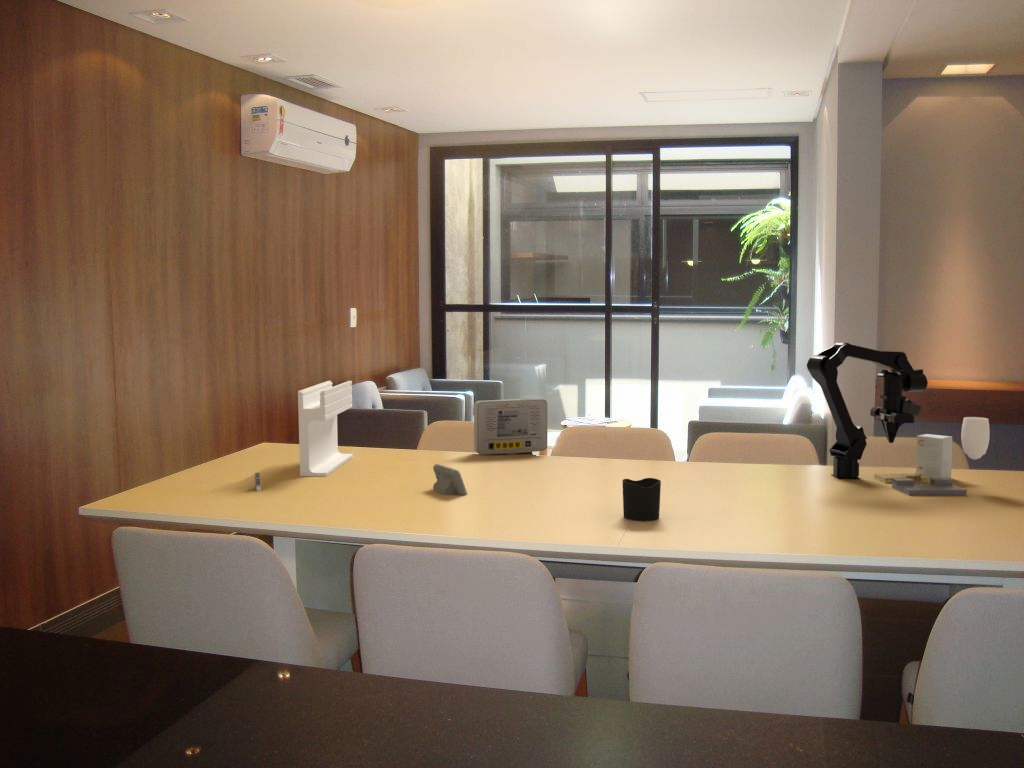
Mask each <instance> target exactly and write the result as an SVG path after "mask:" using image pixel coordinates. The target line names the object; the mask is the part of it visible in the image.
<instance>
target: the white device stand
mask: <svg viewBox="0 0 1024 768" xmlns="http://www.w3.org/2000/svg"><path fill="white" fill-rule="evenodd" d="M352 385H353V380H348V381H345V382H342V383H339V384H337V385H334V386H333V382H332V380H327V381H323V382H320V383H317V384H315V385H312V386H309V387H306V388H303V389H301V390H298V391H297V403H298V404H297V405H298V407H297V408H298V412H297V413H298V445H299V446H298V448H299V450H298V451H299V476H300V477H327V476H329V475H330V474H332V473H333V472H334V471H336V470H337V469H339V468H340V467H341V466H343V465H344V464H345V463H347V462H348V461H350V460H351V459H353V457H354V453H342V452H340V451H339V447H338V445H339V443H338V441H339V440H338V439H339V438H338V437H339V436H338V415H339V414H341V413H344V412H345V411H346V410H349V409H351V408H353V394H352V393H353V386H352Z"/></svg>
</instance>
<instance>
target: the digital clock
mask: <svg viewBox="0 0 1024 768" xmlns="http://www.w3.org/2000/svg"><path fill="white" fill-rule="evenodd" d="M432 469H433V473H434V475H435V479H436V481H435V483H433V486H432V487H433V489H432V491H434V492H436V493H439V494H442V495H444V496H447V495H458V496H468V491H467V488H466V486H465V483H464V480H463V477H462V475H461V474H462V473H461V472H460V470H458V469H455V468H453V467H449V466H448V465H447V466H446V465H443V464H440V463H435V464H434V465H433V468H432Z"/></svg>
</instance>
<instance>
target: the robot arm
mask: <svg viewBox="0 0 1024 768" xmlns="http://www.w3.org/2000/svg"><path fill="white" fill-rule="evenodd" d="M847 358H851V359H856V360H857V359H858V360H862V361H865V362H870V363H872V364H874V365H876V366H878V367H880V368H882V370H881V371H879V373H877V375H876V377H877V378H882V394H879V398H880V399H882V403H881V404H882V405H881V406H873V407H872V408H871V409H870V415H869V416H870V417H877V416H880V418H877V421H878V422H879V424H880V426H881V428H882V430H883V432H884V435H885V437H886V440H887V441H888V443H889V444H893V443H894V441H895V439H896V436H897V434H898V431H899V429H900V427H901V426H902V425H903V424H915V422H916V421H915V420H916V417H920V414H921V411H922V409H923V406H922V405H919V404H915V403H913V400H910V399H908V398H907V397H906V395H904V392H907V393H908V392H923V391H926V389H927V387H928V383H929V382H928V379H927V375H926V374H925V373H924V369H923V368H916V369H915V368H913V366H912V365H911V363H910V362H909V360H908V356H907V353H905V352H903V351H898V350H879V349H873V348H868V347H863V346H860V345H854V344H851V343H849V342H841V341H839V342H836V343H834V344H833V345H832V346H830V347H828V348H826V349H824V350H822V351H821V352H818V353H817V354H814V355H812V356H811V357H809V359H808V361H807V363H806V369H807V371H808V372H809V374H810V375H811V377H812V378H813V380H814V381H815V382H816V383H817V384H818V385H819V386H820V389H821V391H822V393H823V396H824V399H825V400H826V403H827V406H828V409H829V411H830V414H831V416H832V419H833V421H834V424H835V427H836V431H835V440H836V441H835V442H834V444H833V445H832V446H831V447H830V448H829V454H830V457H831V456H832V457H833V469H832V470H833V472H832V473H831V474H830V476H832V477H833V478H835V479H837V480H860V477H859V475H860V463H859V461H860V460H861V459H862V456H863V454H864V451H865V450H866V447H867V446H868V445H867V444H868V443H867V440H868V437H867V436H866V434H865V431H864V428H863V426H859V425H855V423H854V421H853V420H852V417H851V415H850V412H849V409H848V407H847V404H846V402H845V399H844V397H843V396H844V395H843V394H842V391H841V389H840V386H839V384H838V375H839V371H838V368H839V367H840V366H841V365H842V364H843V363H844V362H845V360H846V359H847ZM889 370H890V371H889Z"/></svg>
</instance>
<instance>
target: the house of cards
mask: <svg viewBox="0 0 1024 768" xmlns="http://www.w3.org/2000/svg"><path fill="white" fill-rule="evenodd" d="M253 487H254V490H255V491H256V492H262V491H263V490H262V485H261V472H255V473H254V484H253ZM246 491H252V488H247V489H246Z"/></svg>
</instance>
